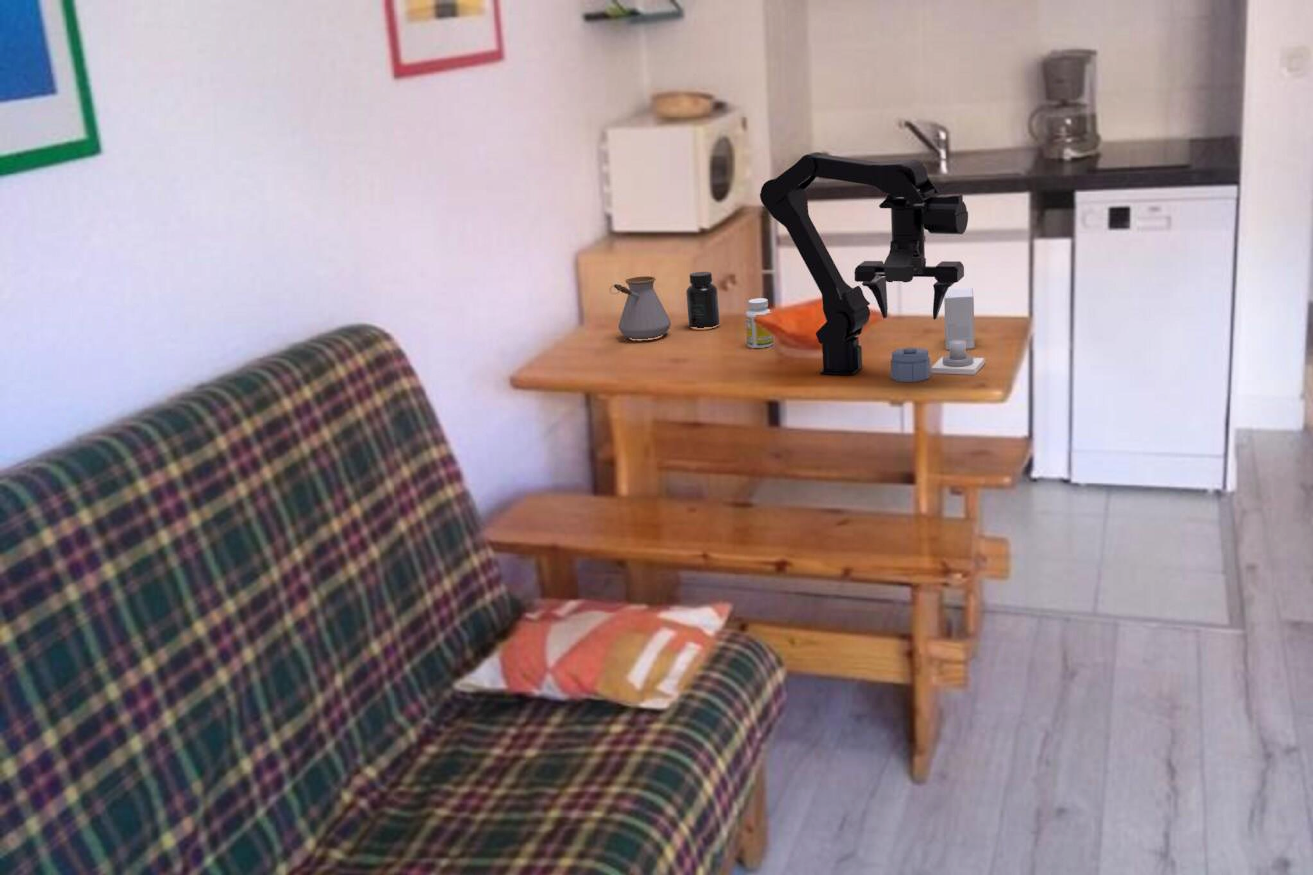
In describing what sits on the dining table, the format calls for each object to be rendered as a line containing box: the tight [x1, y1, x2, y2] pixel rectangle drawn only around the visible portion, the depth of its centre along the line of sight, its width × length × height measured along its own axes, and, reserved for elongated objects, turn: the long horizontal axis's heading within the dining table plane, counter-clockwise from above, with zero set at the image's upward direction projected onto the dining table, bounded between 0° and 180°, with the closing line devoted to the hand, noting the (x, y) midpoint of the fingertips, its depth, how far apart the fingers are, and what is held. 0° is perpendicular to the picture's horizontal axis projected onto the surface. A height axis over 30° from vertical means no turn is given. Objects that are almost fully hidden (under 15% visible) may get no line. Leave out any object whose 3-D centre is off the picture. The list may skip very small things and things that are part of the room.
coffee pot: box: [609, 275, 672, 339], centre depth 293 cm, size 21×12×15 cm, turn 160°
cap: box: [890, 347, 931, 383], centre depth 251 cm, size 7×7×5 cm
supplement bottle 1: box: [686, 271, 721, 328], centre depth 302 cm, size 7×7×12 cm
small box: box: [943, 287, 975, 351], centre depth 269 cm, size 8×6×10 cm
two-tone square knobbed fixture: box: [930, 340, 986, 376], centre depth 254 cm, size 8×8×5 cm
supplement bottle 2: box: [745, 298, 774, 349], centre depth 282 cm, size 5×5×10 cm
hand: (909, 318), depth 249 cm, fingers open, 9 cm apart
